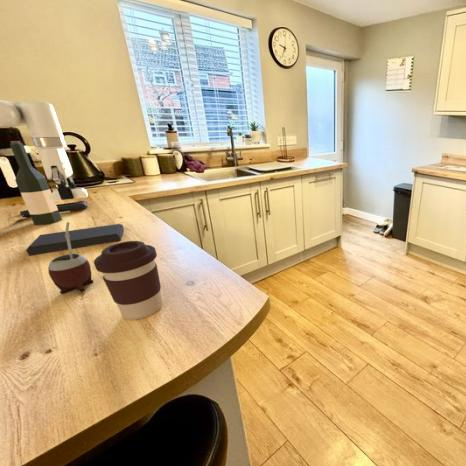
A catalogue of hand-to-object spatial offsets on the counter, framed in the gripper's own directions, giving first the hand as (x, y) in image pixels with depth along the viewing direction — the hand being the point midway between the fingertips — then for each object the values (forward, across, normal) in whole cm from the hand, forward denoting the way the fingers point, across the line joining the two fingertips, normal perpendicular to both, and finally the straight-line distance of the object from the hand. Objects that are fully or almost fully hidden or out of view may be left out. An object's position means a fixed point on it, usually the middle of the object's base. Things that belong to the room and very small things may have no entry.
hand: (69, 196), depth 100 cm
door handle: (+13, -34, -13) cm, 38 cm away
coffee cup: (+13, +68, +21) cm, 72 cm away
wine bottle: (+13, -17, -13) cm, 25 cm away
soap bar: (+1, 0, 0) cm, 1 cm away
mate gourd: (+13, +48, +7) cm, 51 cm away
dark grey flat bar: (+12, +14, +2) cm, 18 cm away
